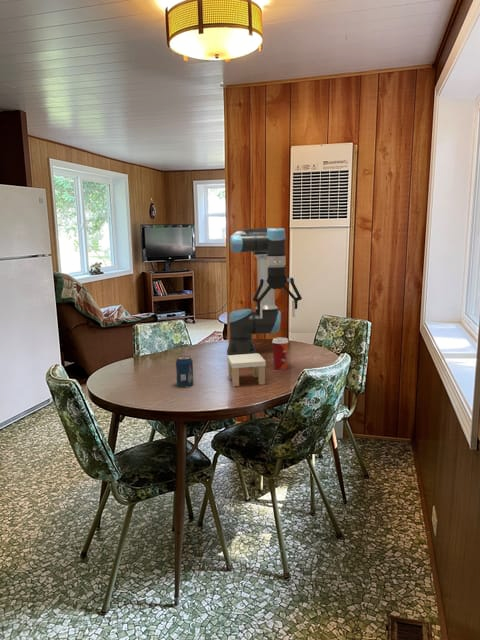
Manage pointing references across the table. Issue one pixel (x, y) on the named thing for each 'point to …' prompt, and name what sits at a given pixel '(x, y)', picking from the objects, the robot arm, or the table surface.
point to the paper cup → (280, 353)
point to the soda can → (184, 371)
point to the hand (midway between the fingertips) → (277, 317)
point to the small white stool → (246, 361)
